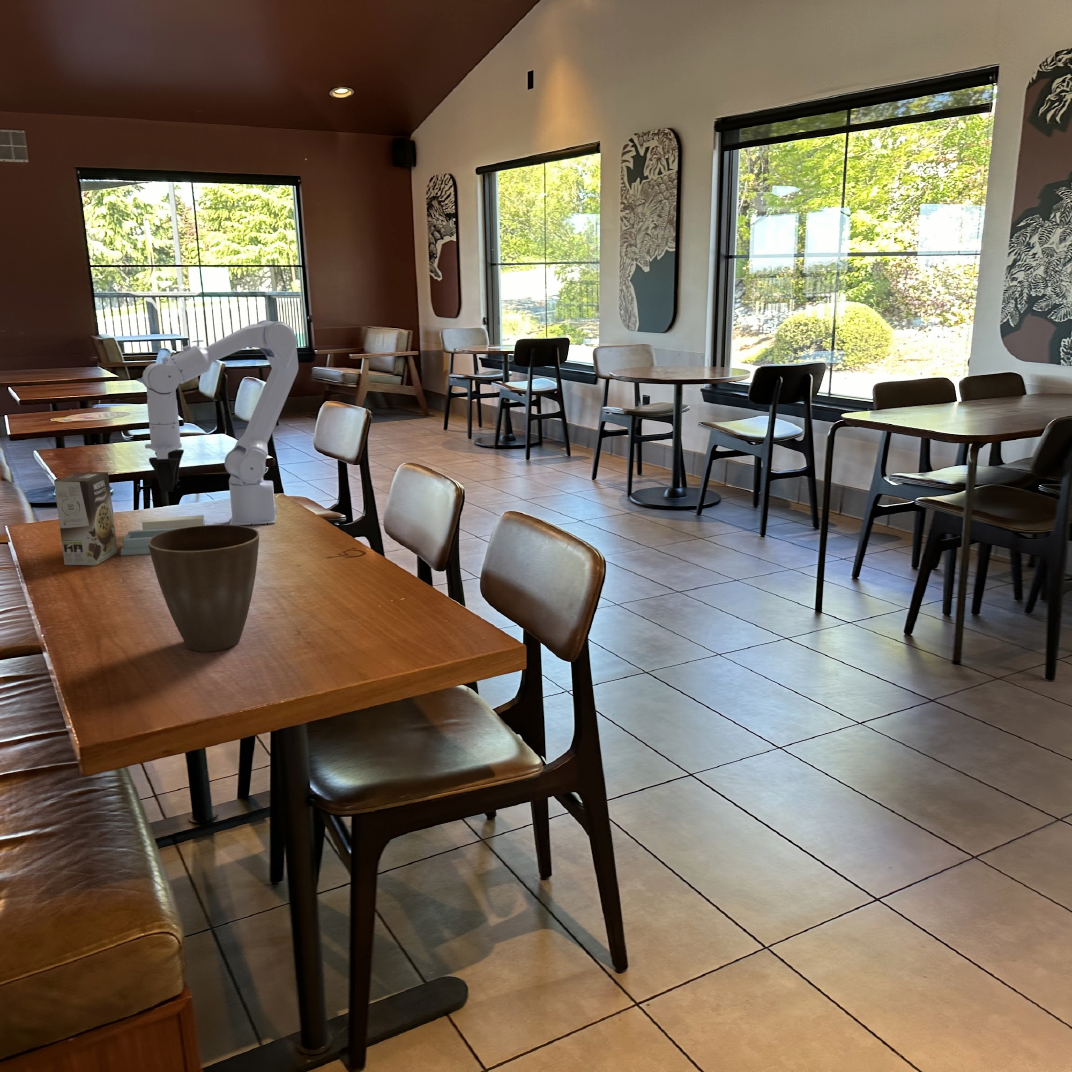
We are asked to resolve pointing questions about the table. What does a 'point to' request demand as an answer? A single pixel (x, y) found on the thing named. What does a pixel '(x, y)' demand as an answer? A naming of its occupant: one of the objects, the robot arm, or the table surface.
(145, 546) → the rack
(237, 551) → the plant pot
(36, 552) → the table surface
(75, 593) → the table surface
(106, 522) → the food box
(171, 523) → the beige rectangular block
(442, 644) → the table surface
